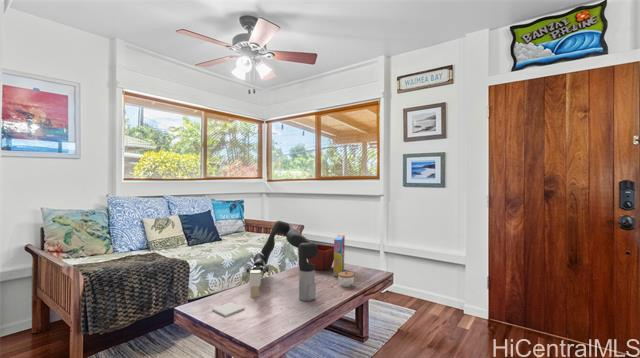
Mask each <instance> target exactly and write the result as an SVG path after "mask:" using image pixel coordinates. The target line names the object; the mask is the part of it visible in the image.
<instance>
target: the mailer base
mask: <svg viewBox="0 0 640 358" xmlns="http://www.w3.org/2000/svg"><path fill="white" fill-rule="evenodd" d="M259 295H260V286H250V297H251V298H252V297H259Z"/></svg>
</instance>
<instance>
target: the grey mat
mask: <svg viewBox="0 0 640 358" xmlns="http://www.w3.org/2000/svg"><path fill="white" fill-rule="evenodd" d="M244 310H245V307H244V306H242V305H239V304H237V303H235V302H233V301H230V302H228V303H224V304H221V305H219V306H215V307H214V308H212V309H211V311H212V312H215V313H217V314H218V315H221V316H223V317H225V318H226V317H227V318H228V317H229V316H232V315H234V314H236V313H239V312H242V311H244Z"/></svg>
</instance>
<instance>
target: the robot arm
mask: <svg viewBox="0 0 640 358" xmlns="http://www.w3.org/2000/svg"><path fill="white" fill-rule="evenodd" d="M277 234H278V235H281V236H285V237H286V238H285V239H286V241H287V243H289V244H290V245H291V246H292V247H294V248H297V249H298V251H297V252H298V254H297V255H298V267H299V269H298V272H299V275H298V300H300V301H303V302H311V301H313V300H315V299H316V297H317V296H316V293H317V292H316V290H317V289H316V286H317V284H316V282H315V274H316V273H315V271H316V269H315V266H314V264H312V263H308V260H307V258H314V257H316V256H317V255H318V247H317V245H316V243H315V242H313V241H312V240H310V239H308V238H307V237H306V236H304V235H303V234H301V233H300V232H299V231H297V230H296V229H294V227H292V225H290V224H289V222H286V221H282V220H276V221H275V223H274V224H273V226H272V228H271V231H270V233H269V235H268V238H267V241H265V244H264V245H263V247H262V249H261V251H260V252H261V253H259V252H258V253H256V254H255V255H254V257H253V262H254V263H253V265H252V266H247V267H246V273H248V274H249V275H250V271H251V270H261V273H262V274H263V275H264V274H266V273H269V269H270V268H269V265H267V264H268V262H269V257H270V255H271V254H272V252H273V250H274V249H275V244H276V243H275V236H276V235H277Z"/></svg>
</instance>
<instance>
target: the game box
mask: <svg viewBox="0 0 640 358" xmlns="http://www.w3.org/2000/svg"><path fill="white" fill-rule="evenodd" d="M345 239H346V235H344V234H343V235H341V234H338V235H337V236H336V237H335V238H334V240H333V246H334V261H333V275H332V276H333V277H338V273H340V272H344V271H345V243H346V242H345V241H346V240H345Z"/></svg>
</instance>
